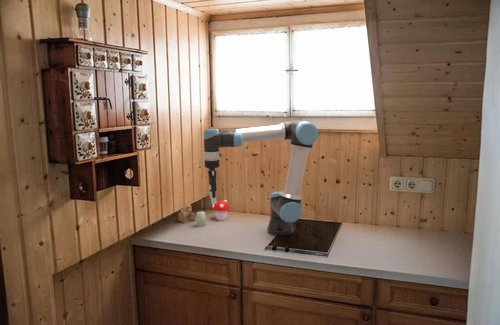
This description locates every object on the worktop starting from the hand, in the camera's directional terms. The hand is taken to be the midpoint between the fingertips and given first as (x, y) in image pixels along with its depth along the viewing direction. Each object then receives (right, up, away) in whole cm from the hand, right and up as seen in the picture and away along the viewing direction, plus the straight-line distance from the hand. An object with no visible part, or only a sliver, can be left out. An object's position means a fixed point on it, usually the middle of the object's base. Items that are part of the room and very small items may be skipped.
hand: (213, 200), depth 221 cm
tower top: (-21, -12, +47) cm, 52 cm away
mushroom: (+1, -16, +51) cm, 54 cm away
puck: (-10, -18, +38) cm, 43 cm away
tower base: (-20, -17, +48) cm, 55 cm away
